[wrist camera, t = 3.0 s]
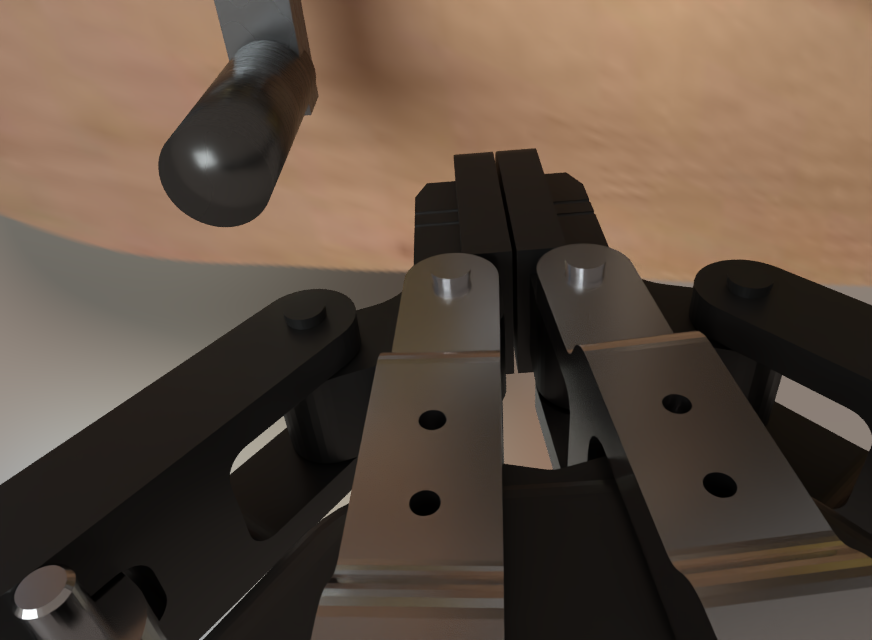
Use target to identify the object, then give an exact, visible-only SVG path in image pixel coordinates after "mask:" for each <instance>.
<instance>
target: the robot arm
mask: <svg viewBox="0 0 872 640" xmlns="http://www.w3.org/2000/svg"><path fill="white" fill-rule="evenodd" d="M454 168H455V181H452V182H439V183H427V184H426V185H425V186H424V188H423V189H422V190H421V191H420V192H419V194H418V195H417V196H416V197H415V233H414V266H413V267H412V268H411V269H410V270H409V271H408V272H407V274H406V276H405V280H404V284H403V290H402V292H401V293H400V294H398V295H397V296H395V297H394V298H392V299H390V300H388V301H385V302H383V303H381V304H377V305H374V306H371V307H367V308H364V309H360V310H356V308H355V305H354V303H353V302H352V301H351V299H350V298H348V297H347V296H346V295H344V294H342V293H339V292H336V291H332V290H327V289H311V290H303V291H299V292H295V293H292V294H289V295H286V296H284V297H281V298H279V299H278V300H276V301H274V302H273V303H271V304H270V305H268V306H267V307H265V308H264V309H262V310H261V311H259V312H258V313H256V314H255V315H253V316H252V317H250V318H249V319H247V320H246V321H244V322H243V323H241V324H240V325H238V326H237V327H235V328H234V329H232V330H231V331H229V332H228V333H226V334H225V335H223V336H222V337H220V338H219V339H217V340H216V341H214V342H213V343H212V344H210V345H209V346H207V347H205V348H204V349H203V350H201V351H200V352H198V353H196V354H195V355H194V356H192V357H191V358H189V359H188V360H186V361H185V362H183V363H182V364H180V365H179V366H177V367H176V368H174V369H173V370H171V371H170V372H168V373H167V374H165V375H164V376H162V377H161V378H159V379H158V380H156V381H155V382H153V383H152V384H150V385H149V386H147V387H146V388H144V389H143V390H141V391H140V392H138V393H137V394H135V395H134V396H132V397H131V398H129V399H128V400H126V401H125V402H124V403H122V404H120V405H119V406H118V407H116V408H114V409H113V410H112V411H110V412H109V413H107V414H106V415H104V416H103V417H101V418H100V419H98V420H97V421H95V422H94V423H92V424H91V425H89V426H88V427H86V428H85V429H83V430H82V431H80V432H79V433H77V434H76V435H74V436H73V437H71V438H70V439H68V440H67V441H65V442H64V443H62V444H61V445H59V446H58V447H57V448H55V449H53V450H52V451H50V452H49V453H47V454H46V455H44V456H43V457H41V458H40V459H39V460H37V461H35V462H34V463H32V464H31V465H29V466H28V467H27V468H25V469H23V470H22V471H21V472H19V473H18V474H16V475H15V476H13V477H12V478H10V479H9V480H7V481H6V482H4V483H3V484H1V485H0V640H199V639H200V638H201V637H202V636H203V635H204V634H205V633H206V632H207V631H208V630H209V629H210V628H211V627H212V626H213V625H214V624H215V623H216V622H217V621H218V620H219V619H220V618H221V617H222V616H223V615H224V614H225V613H226V612H227V611H228V610H229V609H230V608H232V606H233V605H235V604H236V603H237V602H238V601H239V600H240V599H241V598H242V597H243V596H244V595H245V594H246V593H247V592H248V591H249V590H250V589H251V588H252V587H253V586H254V585H255V584H256V583H257V582H258V581H259V580H260V579H261V578H262V577H263V576H264V575H265V574H266V573H267V572H268V571H269V572H268V573H267V574H266V575H265V576H264V577H263V578H262V579H261V580H260V581H259V582H258V583H257V584H256V585H255V586H254V587H253V588H252V589H251V590H250V591H249V592H248V593H247V594H246V595H245V597H244V598H243V599H242V600H241V601H240V602H239V603H238V604H237V605H236V606H235V607H234V608H233V609H232V610H231V611H230V612H229V613H228V614H227V615H226V616H225V617H224V618H223V619H222V620H221V622H220V623H219V624H218V625H217V626H216V627H215V628H214V629H213V630H212V631H211V632H210V633H209V634H208V635H207V636H206V637H205V638H204V639H203V640H872V446H871V449H870V451H867V450H864V449H863V448H860V447H859V446H857V445H855V444H853V443H851V442H850V441H847V440H846V439H844V438H842V437H840V436H838V435H836V434H835V433H833V432H831V431H829V430H827V429H825V428H823V427H822V426H820V425H818V424H816V423H814V422H812V421H810V420H809V419H807V418H805V417H803V416H801V415H799V414H797V413H795V412H794V411H792V410H790V409H788V408H786V407H784V406H782V405H781V404H779V403H777V402H775V398H776V394H777V390H778V387H779V384H780V380H781V377H782V375H783V376H785V377H787V378H789V379H791V380H793V381H795V382H797V383H799V384H801V385H803V386H805V387H807V388H809V389H811V390H813V391H815V392H817V393H819V394H821V395H823V396H825V397H827V398H829V399H831V400H833V401H835V402H837V403H839V404H841V405H843V406H845V407H847V408H849V409H850V410H852V411H854V412H855V413H857V414H858V415H859V416H860V417H861V418H862V419H863V420H864V421H865V422H866V424H867V425H868V427H869V429H870V431H871V433H872V305H869V304H867V303H864V302H862V301H860V300H857V299H855V298H852V297H849V296H847V295H845V294H842V293H840V292H837V291H835V290H832V289H830V288H827V287H825V286H822V285H820V284H817V283H815V282H812V281H810V280H807V279H805V278H802V277H800V276H797V275H795V274H792V273H790V272H787V271H785V270H782V269H780V268H777V267H775V266H772V265H769V264H765V263H761V262H757V261H750V260H725V261H720V262H715V263H712V264H710V265H708V266H706V267H704V268H702V269H701V270H700V271H699V272H698V273H697V275H696V277H695V280H694V286H693V288H691V287H682V286H674V285H666V284H659V283H654V282H650V281H646V280H643V279H641V277H640V276H639V274H638V272H637V271H636V269H635V267H634V266H633V264H632V262H631V261H630V260H629V259H628V258H627V257H626V256H625V255H624V254H622V253H620V252H619V251H617V250H614V249H612V248H609V247H608V244H607V242H606V239H605V237H604V234H603V232H602V229H601V227H600V225H599V222H598V220H597V217H596V215H595V214H594V210H593V208H592V205H591V203H590V202H589V198H588V195H587V193H586V190H585V188H584V186H583V184H582V183H580V182H579V181H578V180H576V179H575V178H573V177H572V176H570V175H569V174H568V173H553V174H544V172H543V169H542V166H541V163H540V159H539V156H538V153H537V150H536V148H534V149H521V150H508V151H496V155H495V160H494V155H493V152H485V153H472V154H459V155H454ZM514 351H515V357H516V363H517V369H518V373H527V372H534V377H535V382H536V384H535V385H536V387H535V389H536V391H535V407H536V412H537V415H538V419H539V423H540V426H541V430H542V433H543V436H544V440H545V443H546V447H547V450H548V454H549V457H550V461H551V463H552V467H553V470H546V469H538V468H530V467H523V466H516V465H508V464H504V450H503V449H504V447H503V405H502V404H503V403H502V401H503V398H504V397H505V393H506V374H513V373H514ZM282 416H284V418H285V421H286V425H287V428H286V429H284V430H283V431H282V432H281V433H280V434H278V435H277V436H276V437H275V438H274V439H273V440H271V441H270V442H269V443H268V444H267V445H265V446H264V447H263V448H262V449H260V450H259V451H258V452H257V453H256V454H254V455H253V456H252V457H251V458H250V459H248V460H247V461H246V462H245V463H244V464H242V465H241V466H240V467H239V468H238V469H236V470H235V471H234V472H233V473H231V474H230V471H231V467H232V464H233V462H234V460H235V459H236V457H237V455H238V454H239V453H240V452H241V451H242V449H243V448H245V446H247V445H248V444H249V443H250V442H252V441H253V440H254V439H255V438H257V437H258V436H259V435H260V434H262V433H263V432H264V431H265V430H266V429H268V427H270V426H271V425H273V424H274V423H275V422H276V421H277V420H279V419H280V418H281V417H282ZM351 490H352V491H351ZM350 491H351V496H350V501H349V503H348V504H347V505H345V506H343V507H341V508H339V509H337V510H336V511H334V512H333V513H331V514H330V515H328V516H327V517H325V518H324V519H322V518H323V517H324V516H325V515H326V514H327V513H328V512H329V511H330V510H331V509H333V508H334V507H335V506H336V505H337V504H338V503H339V502H340V501H341V500H342V499H343V498H344V497H345V496H346V495H347V494H348V493H349V492H350ZM321 519H322V520H321ZM320 520H321V521H320ZM319 521H320V522H319ZM318 522H319V523H318Z"/></svg>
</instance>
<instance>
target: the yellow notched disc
mask: <svg viewBox="0 0 872 640" xmlns="http://www.w3.org/2000/svg"><path fill="white" fill-rule="evenodd" d="M214 2H215V6H216V10H217V14H218V18H219V22H220V26H221V30H222V34H223V38H224V42H225V45H226V49H227V53H228V57H229V62H228V64H227V65H226V66H225V68H224V69H223V70H222V71H221V73H220V74H219V75H218V77H217V78H216V79H215V80H214V82H213V83H212V84H211V85H210V87H209V88H208V89H207V91H206V92H205V93H204V94H203V96H202V97H201V98H200V100H199V101H198V102H197V103H196V105H195V106H194V107H193V108H192V110H191V111H190V112H189V114H188V115H187V116H186V117H185V119H184V120H183V121H182V123H181V124H180V125H179V126H178V128H177V129H176V130H175V131H174V133H173V134H172V135H171V137H170V138H169V139H168V140H167V142H166V143H165V144H164V146H163V148H162V150H161V153H160V157H159V168H158V169H159V176H160V180H161V183H162V185H163V188H164V190H165V192H166V193H167V195H168V197H169V198H170V199H171V201H172V202H173V203H174V204H175V205H176V206H177V207H178V208H179V209H180V210H181V211H182V212H184V213H185V214H187V215H188V216H190V217H191V218H193V219H195V220H197V221H199V222H202V223H205V224H208V225H212V226H217V227H234V226H239V225H243V224H245V223H248V222H250V221H251V220H253V219H255V218H256V217H257V216H258V215H260V214H261V212H262V211H263V210H264V209H265V207H266V206H267V204H268V201H269V199H270V197H271V194H272V192H273V190H274V187H275V185H276V182H277V180H278V177H279V175H280V173H281V170H282V168H283V165H284V163H285V161H286V158H287V156H288V153H289V151H290V148H291V146H292V144H293V141H294V139H295V136H296V134H297V132H298V129H299V127H300V124H301V122H302V119H303V117H304V115H311V114H312V112H313V109H314V106H315V104H316V101H317V99H318V91H317V86H316V73H315V68H314V65H313V62H312V58H311V53H310V48H309V42H308V37H307V31H306V26H305V20H304V15H303V10H302V4H301V0H214Z"/></svg>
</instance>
